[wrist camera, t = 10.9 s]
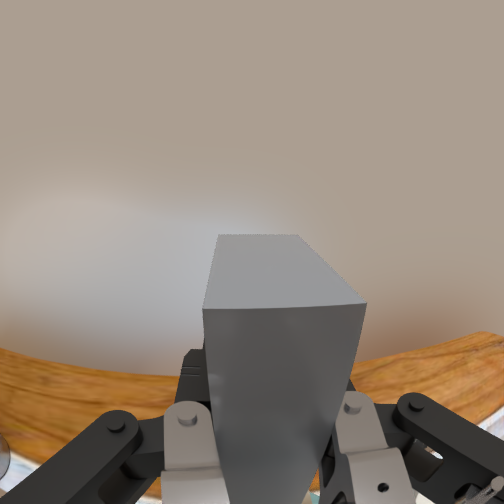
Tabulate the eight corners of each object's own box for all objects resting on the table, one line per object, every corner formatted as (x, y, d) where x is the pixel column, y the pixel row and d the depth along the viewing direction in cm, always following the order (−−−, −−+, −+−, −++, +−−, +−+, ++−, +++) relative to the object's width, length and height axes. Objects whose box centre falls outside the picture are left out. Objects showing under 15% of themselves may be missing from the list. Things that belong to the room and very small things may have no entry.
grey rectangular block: (288, 527, 9) (367, 303, 5) (231, 531, 8) (202, 308, 5) (275, 451, 14) (297, 234, 11) (228, 453, 14) (218, 234, 10)
